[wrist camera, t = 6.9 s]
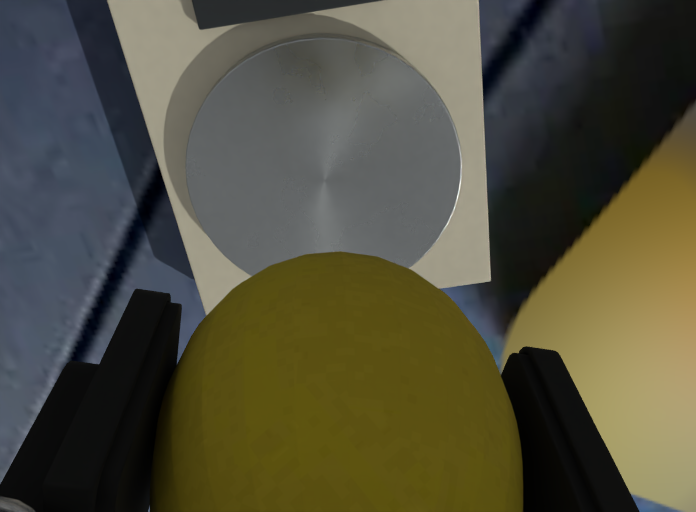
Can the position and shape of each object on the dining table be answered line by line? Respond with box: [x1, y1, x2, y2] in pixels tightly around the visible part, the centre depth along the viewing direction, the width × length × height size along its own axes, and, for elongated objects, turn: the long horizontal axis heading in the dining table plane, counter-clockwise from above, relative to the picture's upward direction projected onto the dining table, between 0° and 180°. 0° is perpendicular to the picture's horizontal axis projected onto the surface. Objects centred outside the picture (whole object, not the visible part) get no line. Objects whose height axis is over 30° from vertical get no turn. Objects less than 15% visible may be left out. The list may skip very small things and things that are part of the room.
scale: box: [107, 0, 491, 316], centre depth 24 cm, size 13×12×3 cm
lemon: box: [150, 251, 523, 512], centre depth 10 cm, size 6×6×8 cm
